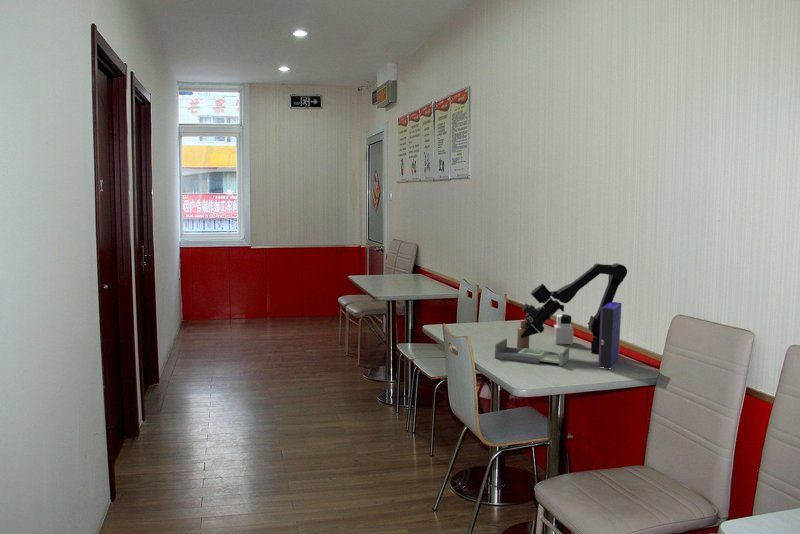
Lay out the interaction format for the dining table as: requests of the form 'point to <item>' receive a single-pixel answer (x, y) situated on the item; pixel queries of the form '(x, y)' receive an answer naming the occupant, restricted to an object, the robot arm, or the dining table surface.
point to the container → (563, 330)
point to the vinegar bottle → (524, 341)
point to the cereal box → (609, 334)
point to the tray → (547, 355)
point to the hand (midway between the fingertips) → (520, 335)
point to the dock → (512, 353)
